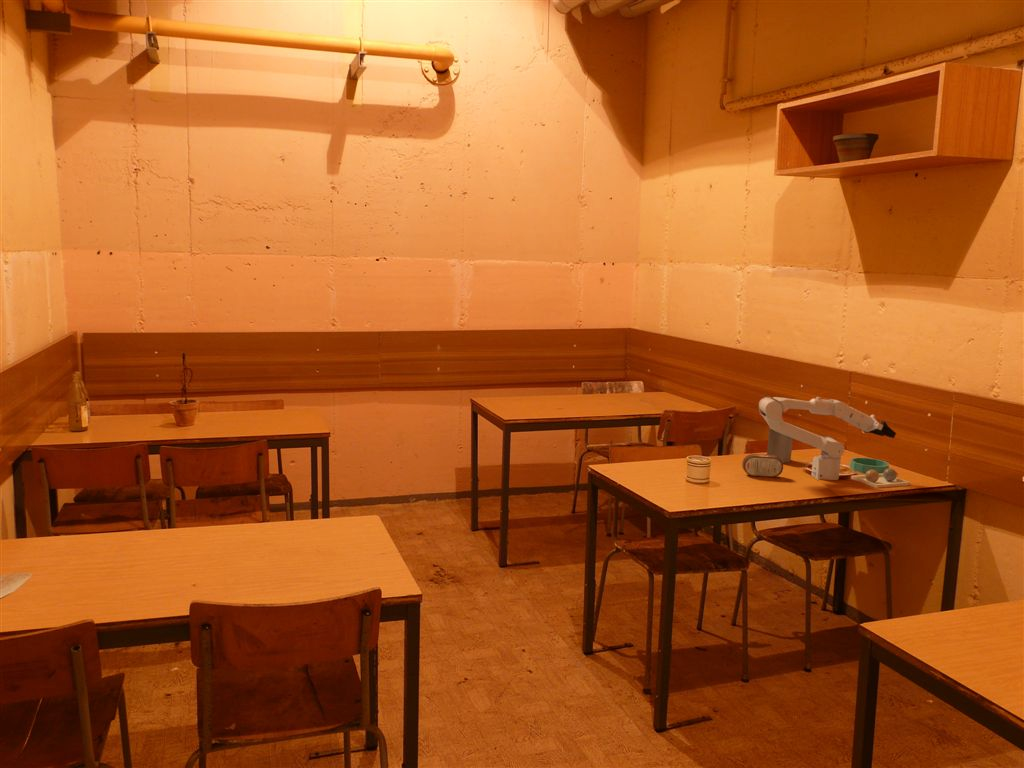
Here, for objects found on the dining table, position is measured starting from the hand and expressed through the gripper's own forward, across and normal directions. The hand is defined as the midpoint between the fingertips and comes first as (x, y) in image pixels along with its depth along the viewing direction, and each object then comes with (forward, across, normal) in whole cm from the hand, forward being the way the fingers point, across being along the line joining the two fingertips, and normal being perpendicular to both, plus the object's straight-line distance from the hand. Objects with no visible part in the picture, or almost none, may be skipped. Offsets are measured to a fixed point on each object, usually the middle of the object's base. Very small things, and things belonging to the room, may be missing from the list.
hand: (889, 434), depth 311 cm
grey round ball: (+8, 0, +16) cm, 18 cm away
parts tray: (+5, -1, +18) cm, 19 cm away
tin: (-35, +6, +35) cm, 50 cm away
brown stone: (+1, -2, +19) cm, 20 cm away
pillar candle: (-21, +32, +26) cm, 46 cm away
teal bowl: (+8, +16, +14) cm, 23 cm away
